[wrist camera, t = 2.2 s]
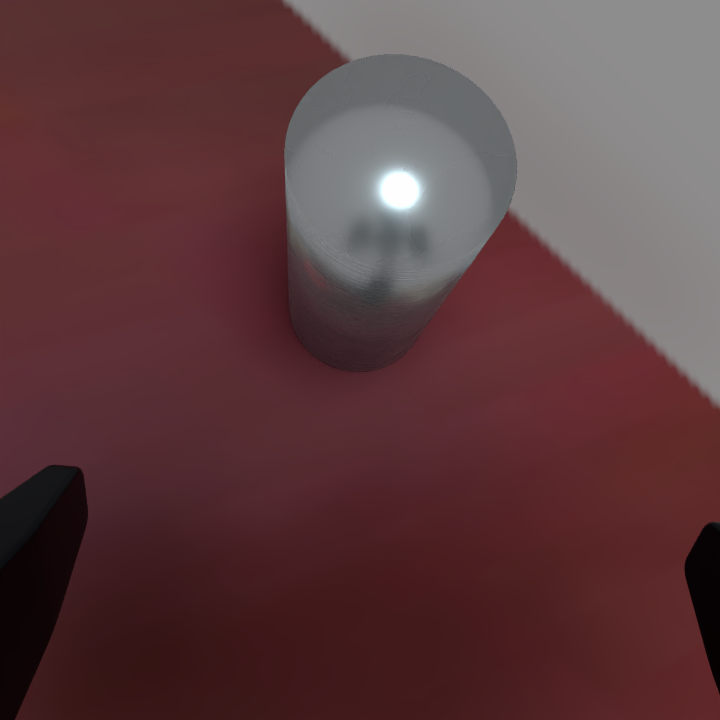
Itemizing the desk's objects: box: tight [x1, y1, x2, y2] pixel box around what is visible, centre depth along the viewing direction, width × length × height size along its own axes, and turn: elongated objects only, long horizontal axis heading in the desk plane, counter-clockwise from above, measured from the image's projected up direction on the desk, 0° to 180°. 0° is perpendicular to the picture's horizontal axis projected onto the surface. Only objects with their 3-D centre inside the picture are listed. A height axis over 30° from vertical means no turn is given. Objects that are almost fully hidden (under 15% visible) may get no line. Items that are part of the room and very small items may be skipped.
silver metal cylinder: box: [285, 54, 517, 372], centre depth 19 cm, size 5×5×10 cm
